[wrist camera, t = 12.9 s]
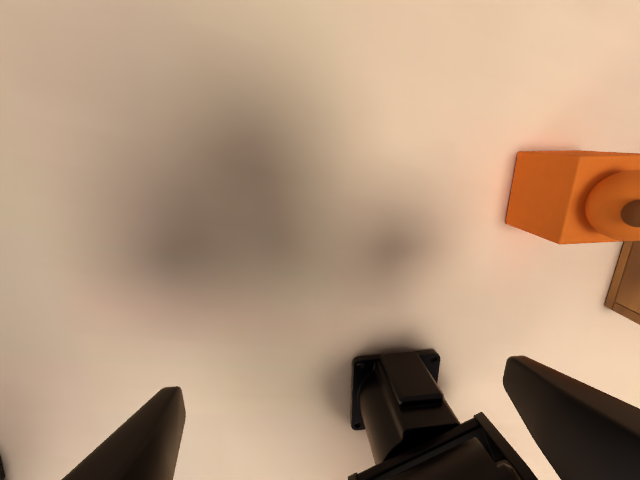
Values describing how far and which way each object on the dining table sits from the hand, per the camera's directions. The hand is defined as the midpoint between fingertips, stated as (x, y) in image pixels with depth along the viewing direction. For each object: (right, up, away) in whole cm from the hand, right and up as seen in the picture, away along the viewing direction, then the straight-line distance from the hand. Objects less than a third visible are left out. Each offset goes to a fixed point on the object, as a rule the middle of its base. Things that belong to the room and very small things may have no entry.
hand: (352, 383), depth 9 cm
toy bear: (+13, +7, +12) cm, 19 cm away
